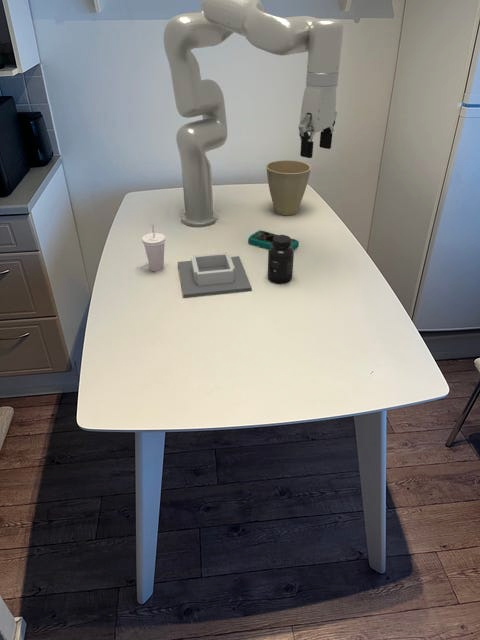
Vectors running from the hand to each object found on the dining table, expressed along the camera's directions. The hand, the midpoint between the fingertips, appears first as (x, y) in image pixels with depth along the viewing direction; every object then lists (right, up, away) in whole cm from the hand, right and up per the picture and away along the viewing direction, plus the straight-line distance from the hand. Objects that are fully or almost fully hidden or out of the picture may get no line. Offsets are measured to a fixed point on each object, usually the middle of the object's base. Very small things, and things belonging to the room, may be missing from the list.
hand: (315, 152), depth 126 cm
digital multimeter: (-9, -21, +25) cm, 34 cm away
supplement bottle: (-9, -32, +9) cm, 34 cm away
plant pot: (-3, -5, +47) cm, 47 cm away
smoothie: (-43, -29, +13) cm, 54 cm away
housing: (-27, -32, +9) cm, 42 cm away
